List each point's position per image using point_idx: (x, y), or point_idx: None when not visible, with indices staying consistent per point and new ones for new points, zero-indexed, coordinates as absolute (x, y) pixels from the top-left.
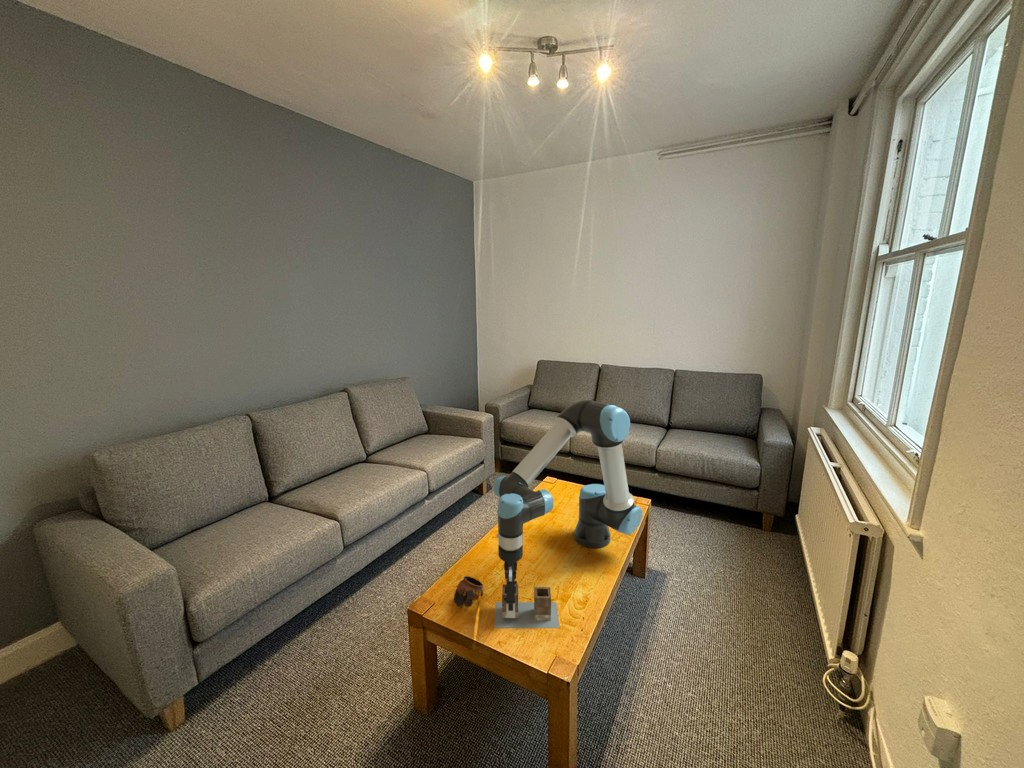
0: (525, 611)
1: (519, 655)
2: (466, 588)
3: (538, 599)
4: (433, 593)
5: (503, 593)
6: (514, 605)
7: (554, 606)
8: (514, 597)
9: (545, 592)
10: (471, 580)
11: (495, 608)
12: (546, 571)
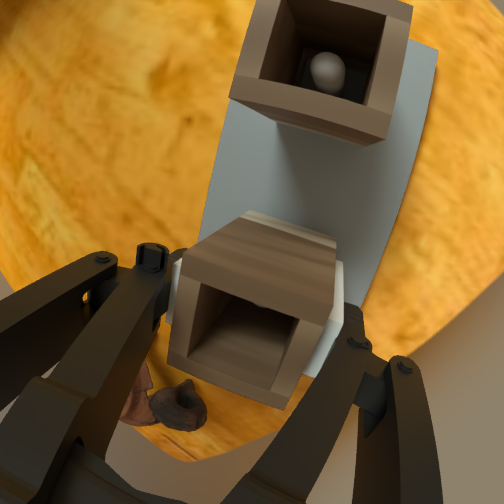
0: (284, 174)
1: (489, 282)
2: (142, 419)
3: (392, 109)
4: None
5: (268, 398)
6: (342, 302)
7: None
8: (428, 408)
9: (286, 22)
10: None
11: None
12: (71, 38)
